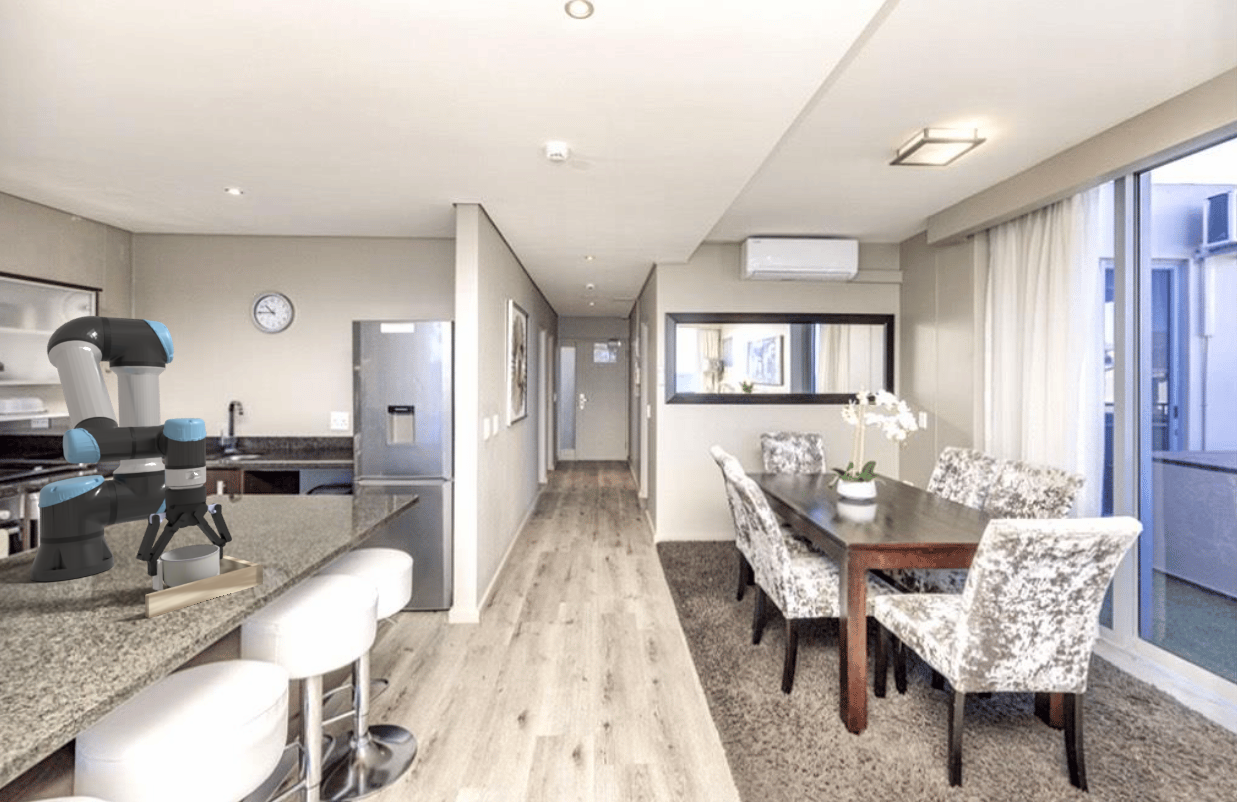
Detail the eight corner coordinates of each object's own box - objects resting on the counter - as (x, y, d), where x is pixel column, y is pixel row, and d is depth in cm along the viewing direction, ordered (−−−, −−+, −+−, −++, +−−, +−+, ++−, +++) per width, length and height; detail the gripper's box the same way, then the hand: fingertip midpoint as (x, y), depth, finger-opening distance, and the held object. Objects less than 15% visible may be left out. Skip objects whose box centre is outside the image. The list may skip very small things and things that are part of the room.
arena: (104, 600, 124) (104, 579, 123) (217, 570, 143) (217, 553, 143) (149, 618, 114) (148, 596, 114) (262, 583, 134) (262, 565, 134)
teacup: (231, 579, 133) (231, 545, 133) (187, 596, 123) (187, 559, 122) (182, 574, 136) (182, 541, 136) (135, 590, 125) (135, 554, 125)
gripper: (131, 496, 117) (133, 601, 118) (248, 479, 138) (249, 569, 138) (114, 492, 121) (116, 594, 121) (231, 477, 141) (232, 564, 142)
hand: (187, 581), depth 130 cm, fingers closed on teacup, 11 cm apart
